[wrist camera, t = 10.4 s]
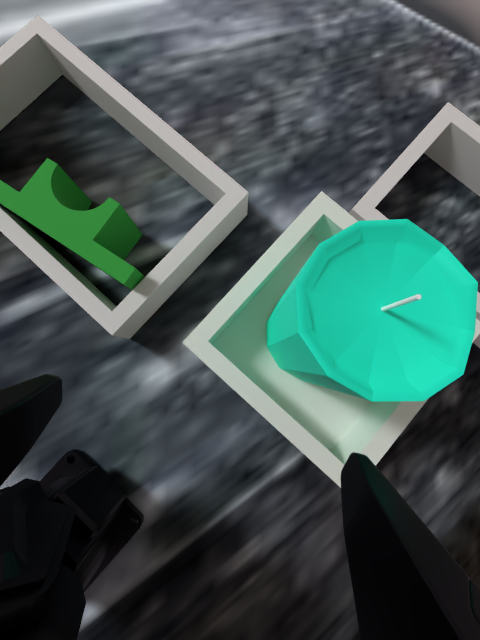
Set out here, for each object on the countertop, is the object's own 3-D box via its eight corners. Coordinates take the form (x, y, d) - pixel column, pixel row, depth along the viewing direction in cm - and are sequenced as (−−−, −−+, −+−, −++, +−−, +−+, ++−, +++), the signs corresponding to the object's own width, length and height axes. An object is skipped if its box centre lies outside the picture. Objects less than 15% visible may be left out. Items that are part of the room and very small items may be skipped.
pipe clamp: (177, 257, 22) (163, 231, 17) (147, 300, 22) (124, 285, 17) (51, 176, 23) (5, 130, 18) (19, 216, 22) (-36, 180, 18)
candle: (313, 401, 19) (433, 465, 8) (245, 335, 20) (258, 297, 8) (375, 334, 20) (577, 295, 8) (308, 271, 21) (406, 149, 9)
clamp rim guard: (129, 338, 21) (112, 335, 18) (-57, 165, 22) (-102, 135, 19) (247, 214, 22) (248, 192, 19) (62, 58, 24) (37, 14, 21)
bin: (328, 469, 20) (350, 497, 16) (192, 346, 21) (182, 342, 17) (439, 332, 21) (485, 325, 17) (306, 221, 22) (321, 191, 18)
